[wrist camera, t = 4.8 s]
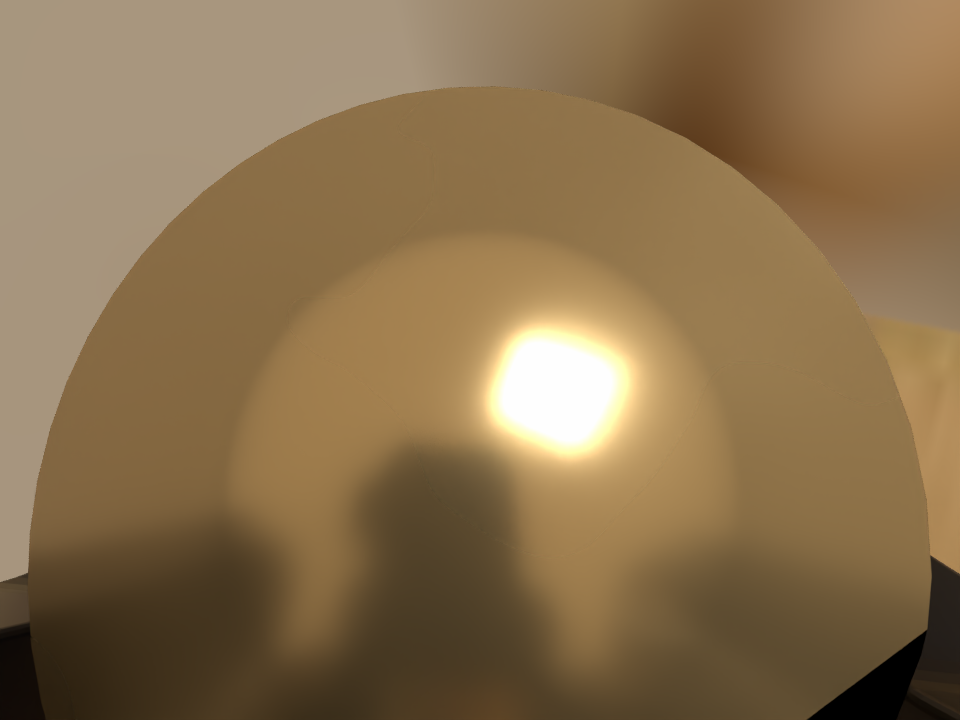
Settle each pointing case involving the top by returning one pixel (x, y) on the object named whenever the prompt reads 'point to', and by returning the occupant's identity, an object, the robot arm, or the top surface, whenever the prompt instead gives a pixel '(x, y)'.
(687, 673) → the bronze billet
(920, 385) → the top surface
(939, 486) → the top surface
